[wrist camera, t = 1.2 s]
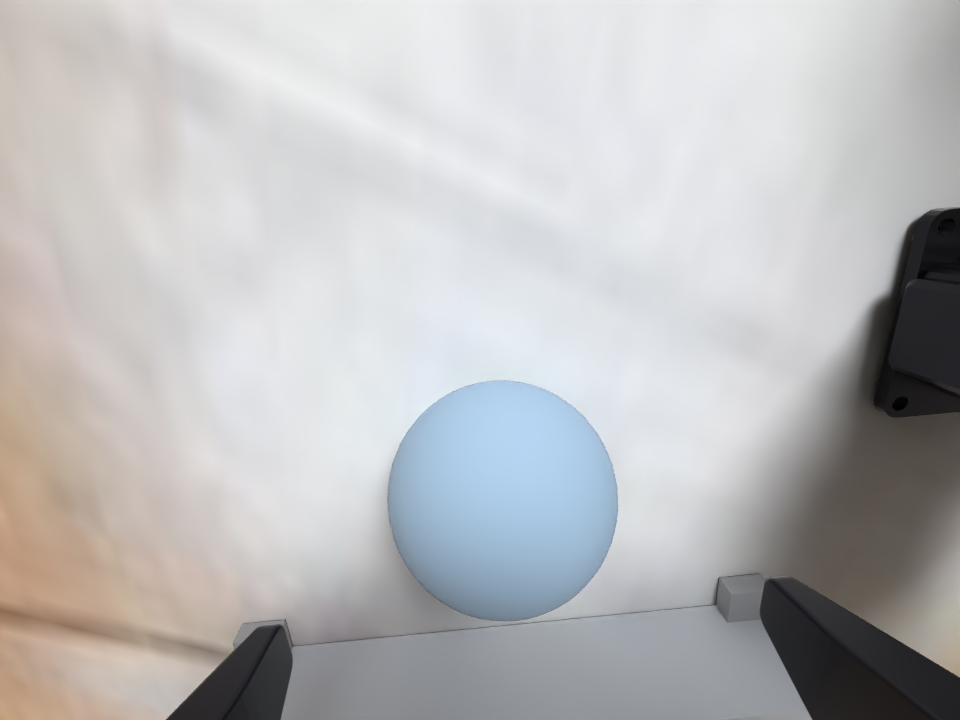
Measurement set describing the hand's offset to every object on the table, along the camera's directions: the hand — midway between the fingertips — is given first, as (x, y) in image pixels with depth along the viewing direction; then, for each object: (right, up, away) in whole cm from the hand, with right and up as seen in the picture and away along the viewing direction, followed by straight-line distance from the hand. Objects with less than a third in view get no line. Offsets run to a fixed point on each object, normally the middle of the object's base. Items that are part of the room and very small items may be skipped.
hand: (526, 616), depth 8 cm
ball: (0, +2, +7) cm, 7 cm away
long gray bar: (0, -6, +9) cm, 11 cm away
